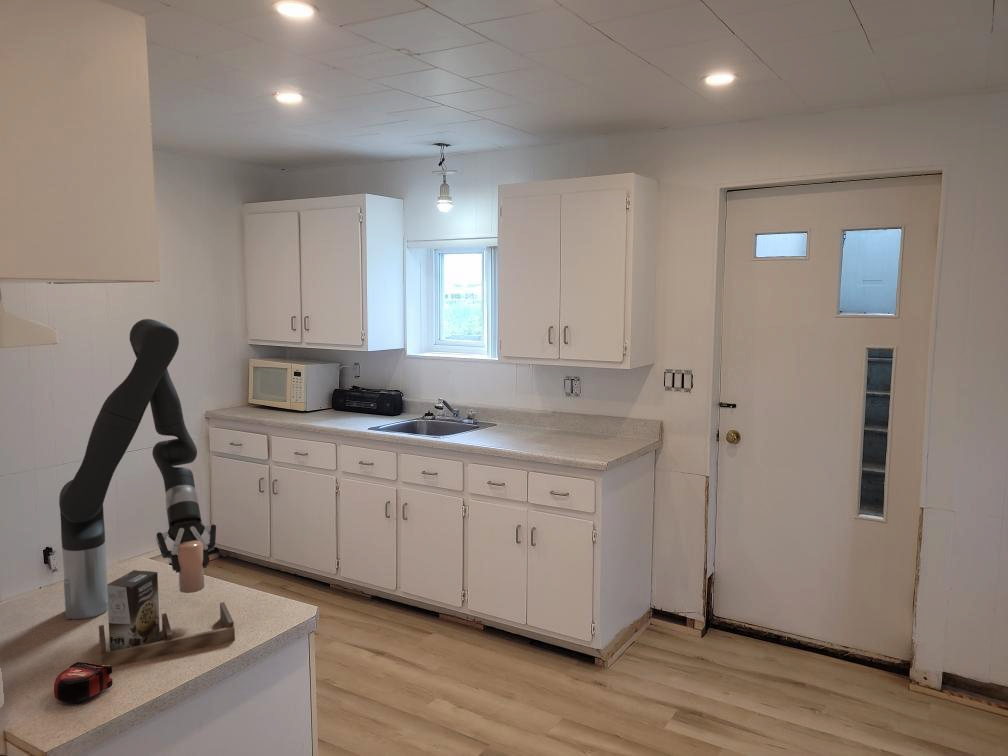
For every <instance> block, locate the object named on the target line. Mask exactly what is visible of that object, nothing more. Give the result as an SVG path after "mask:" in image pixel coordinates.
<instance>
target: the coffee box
mask: <svg viewBox="0 0 1008 756" xmlns="http://www.w3.org/2000/svg"><path fill="white" fill-rule="evenodd" d="M158 579H159V578H158V571H150V570H137V569H136V570H135V569H134V570H132V571H130V572H128V573H126V574H125V575H122V576H120V577H119V578H117V579H114V580H113V581H111V582H110V583H107V593H108V609H107V611H108V612H107V613H108V615H107V617H108V618H107V619H108V638H109V640H108V641H109V652H110V651H115V650H120V649H125V648H129V647H134V646H139V645H144V644H149V643H154V642H158V640H160V639H161V636H160V635H161V631H160V629H161V628H160V607H159V583H158V582H159V581H158Z"/></svg>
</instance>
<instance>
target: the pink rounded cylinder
mask: <svg viewBox="0 0 1008 756" xmlns="http://www.w3.org/2000/svg"><path fill="white" fill-rule="evenodd" d="M177 548H178V553H177V555H178V561H179V567H180V571H179V572H178V587H179V591H180V593H185V594H190V593H191V594H193V593H197V592H200V591H201V590H203V589H204V588H205V568H204V565H203V543H202V542H201V541H196V540H193V541H185V542H182V543H180V544H178V546H177Z"/></svg>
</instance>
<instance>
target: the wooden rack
mask: <svg viewBox="0 0 1008 756" xmlns="http://www.w3.org/2000/svg"><path fill="white" fill-rule="evenodd" d="M219 609H220V610H219V614H220V615H219V619H220V621H221V623H222V626H223V625H224V626H223V628H218V629H213V630H207V631H203V632H199V633H193V634H188V635H184V636H179V637H174V638H173V632H172V629H171V625H170V622H169V619H168V618H169V617H168V614H167V612H165V613H161V627H162V628H161V629H162V635H163V639H164V640H160V641H155V642H154V643H149V644H144V645H139V646H134V647H129V648H125V649H120V650H115V651H110V650H109V651H107V643H106V635H105V633H106V632H105V625H104V624H102V625H98V634H99V635H98V636H99V638H98V639H99V651H100V659H101V660H100V661H101V666H102V665H110V666H112V667H117V666H121V665H125V664H130V663H131V664H132V663H135V662H139V661H144V660H149V659H154V658H158V657H164V656H169V655H173V654H177V653H182V652H186V651H191V650H195V649H199V648H200V649H201V648H205V647H209V646H214V645H218V644H219V643H220V644H224V643H229V642H232V641H233V640H234V641H236V635H235V634H236V633H235V630H236V629H235V625H234V624H235V623H234V620H233V617H232V616H231V613H230V611H229V609H228V608H227V605H226V603H225V602H219ZM220 644H219V645H220Z"/></svg>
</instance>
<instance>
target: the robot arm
mask: <svg viewBox="0 0 1008 756" xmlns="http://www.w3.org/2000/svg"><path fill="white" fill-rule="evenodd" d="M129 342H130V346H131V348H132V350H133V353H134V356H135V358H136V359H135V361H134V364H133V366H132V368H131V370H130V372H129V373H128V375H127V376H126V378H125V379H124V380H123V381H122V382H121V383H120V384H119V385H118V386H117V387H116V388H114V390H113V391H112V392H111V393H110V394H109V395H108V396H107V398H106V399H105V401H104V402H103V404H102V406H101V408H100V410H99V412H98V414H97V417H96V418H95V421H94V423H93V426H92V428H91V431H90V435H89V439H88V442H87V446H86V449H85V453H84V456H83V459H82V461H81V465H80V467H79V468H78V470H77V472H76V473H75V475H74V477H73V479H71V480H69V481H68V482H66V483H65V484H64V486H63V487H62V488H61V490H60V492H59V499H58V504H59V505H58V506H59V513H60V515H59V516H60V535H61V536H60V539H61V550H62V552H61V553H62V554H61V555H62V570H63V591H64V593H63V594H64V609H65V611H64V612H65V620H70V619H73V620H83V619H90V618H94V617H97V616H99V615H102V614H104V613H106V612H107V611H108V593H107V584H108V569H107V550H106V531H105V519H104V518H105V516H104V515H105V514H104V502H105V499H106V496H107V493H108V490H109V486H110V483H111V481H112V479H113V476H114V473H115V472H116V469H117V467H118V465H119V464H120V462H121V461H122V459H123V457H124V455H125V454H126V452H127V450H128V448H129V447H130V446H129V445H130V444H131V442H132V441H133V438H134V436H135V434H136V432H137V430H138V428H139V425H140V424H141V422H142V419H143V417H144V414H145V413H146V412H145V411H146V410H147V407H148V405H149V404H150V409H151V413H152V419H153V424H154V429H155V431H156V433H157V434H158V435H161V436H168V437H169V436H170V437H175V438H172V439H167V440H160V441H159V442H156V443H155V445H154V446H153V448H152V458H153V460H154V462H155V464H156V466H157V468H158V469H159V471H160V474H161V477H162V479H163V484H164V491H165V510H166V514H167V522H168V523H167V524H168V529H167V531H165V532H161V531H160V532H159V531H158V532H157V533H156V538H155V540H156V543H157V546H158V549H159V551H160V554H161V556H162V558H163V559H166V558H168V559H170V560H171V561H170V562H171V568H172V571H174V572H175V573H178V574H179V571H180V567H179V561H178V548H177V546H178V544H180V543H182V542H185V541H193V540H196V541H201V542H202V543H203V565H204V569H205V568H206V569H207V567H208V566H209V564H210V555H209V552H211V551H215V549H216V548H215V546H216V538H217V537H216V536H217V535H216V534H217V533H216V532H217V525H216V524H215V523H214V524H212V525H209V526H207V525H204V524H203V522H202V517H201V509H200V504H199V503H200V502H199V498H198V494H197V490H196V486H195V485H196V484H195V479H194V478H195V477H194V474H193V471H192V470H191V468H188V467H181V465H182V466H183V465H188V464H192V463H193V462H194V461H195V460H196V458H197V456H198V450H197V449H198V448H197V446H196V444H195V442H194V440H193V439H192V437H191V435H190V434H189V431H188V429H187V427H186V423H185V419H184V415H183V408H182V403H181V401H180V397H179V394H178V392H177V389H176V388H175V385H174V382H173V381H172V378H171V376H170V373H169V370H168V367H169V366H170V364H171V363H172V361H173V359H174V357H175V355H176V353H177V352H178V349H179V344H180V338H179V334H178V333H177V331H176V330H175V329H174V328H173V327H171V326H170V325H167V324H165V323H163V322H161V321H158V320H155V319H152V318H143V319H141V320H139V321H137V322H136V323H135V324H133V326H132V327H131V329H130V331H129ZM178 466H180V467H178ZM204 532H205V533H206V535H207V536H209V543H208V544H206V542H205V540H204V538H203V537H202V535H203V534H204ZM167 538H170V540H172V541H173V542H174V543H173V546H172V549H171V550H169V549H168V546H167V544H166V542H167V540H168V539H167Z"/></svg>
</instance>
